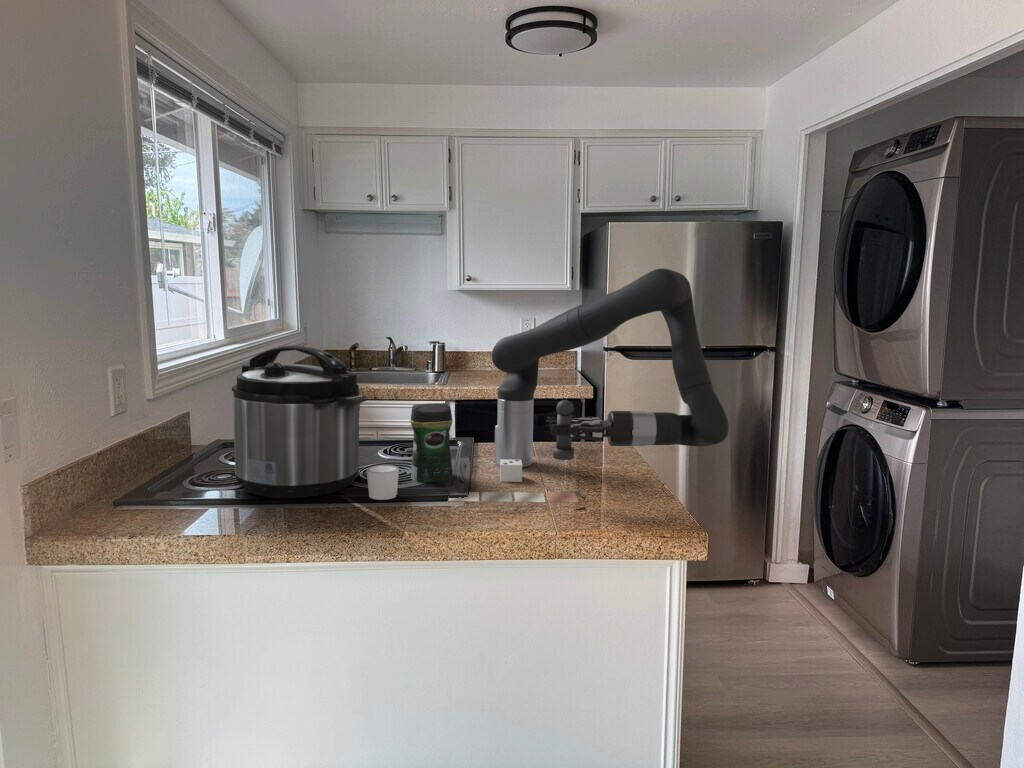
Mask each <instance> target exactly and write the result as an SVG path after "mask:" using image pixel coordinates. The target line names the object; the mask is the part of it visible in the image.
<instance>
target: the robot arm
mask: <svg viewBox="0 0 1024 768" xmlns="http://www.w3.org/2000/svg"><path fill="white" fill-rule="evenodd" d="M694 309H695V308H694V302H693V295H692V288H691V284H690V281H689V280H688V278H687V277H686V276H685V275H684V274H682V273H681V272H679V271H675V270H672V269H669V268H656V269H654V270H651V271H649V272H647V273H645V274H644V275H642V276H640V277H638V278H637V279H635V280H633V281H632V282H630V283H628V284H626V285H625V286H623V287H621V288H618V290H615V291H612V292H611V293H607V294H604V295H601V296H598V297H596V298H594V299H591V300H589V301H587V302H585V303H582V304H579V305H577V306H575V307H573V308H570V309H568V310H566V311H565V312H562V313H560V314H558V315H556V316H554V317H553V318H550V319H548V320H547V321H545V322H542V323H541V324H539V325H536V326H535V327H533V328H530V329H529V330H525V331H522V332H519V333H517V334H516V333H515V334H512V335H509V336H508V335H507V336H504V337H503V338H502V337H501V338H500V339H499V340H498V341H497V342H496V343H495V345H494V346H493V348H492V352H491V361H492V363H493V365H494V367H495V368H497V369H498V371H501V372H503V373H506V375H505V379H504V381H503V382H502V383H501V384H500V385H499V387H498V390H497V420H496V421H497V422H496V423H497V425H495V426H494V462H495V463H496V464H497V465H498V466H500V459H511V460H521V461H522V468H527V467H530V466H531V465H532V464H533V441H534V440H533V439H534V435H533V434H534V400H535V399H534V397H535V391H536V389H537V385H538V381H539V380H538V377H539V364H540V361H539V360H540V359H541V358H543V357H545V356H549V355H554V354H559V353H563V352H568V351H571V350H575V349H578V348H580V347H584V346H587V345H590V344H592V343H594V342H596V341H599V340H601V339H603V338H605V337H607V336H608V335H610V334H611V333H613V332H614V331H615V330H617V329H618V328H619V327H620V326H621V325H623V324H624V323H625V322H628V321H630V320H632V319H635V318H638V317H641V316H645V315H648V314H650V313H655V312H661V314H662V316H663V318H664V320H665V323H666V326H667V329H668V332H669V337H670V343H671V362H672V370H673V374H674V378H675V381H676V385H677V387H678V391H679V394H680V397H681V401H682V402H683V403H684V404H686V405H687V406H688V407H689V411H690V413H691V414H677V413H674V412H669V411H668V412H667V411H666V412H664V411H663V412H658V411H655V412H654V411H652V412H651V411H645V410H611V411H609V412H608V415H607V419H606V420H603V419H601V418H600V417H595V416H585V417H584V416H582V417H572V424H570V427H569V424H568V425H564V424H557V420H550V421H549V431H550V432H551V435H552V436H557V435H569V434H570V437H572V438H573V439H575V440H577V439H578V440H586V441H596V442H602V441H603V438H607V443H608V444H609V445H610V447H647V446H673V445H678V446H679V445H680V446H687V447H709V446H713V445H714V446H715V445H718V444H720V443H723V442H724V441H725V440H726V439H727V436H729V435H728V434H729V431H730V428H729V427H730V424H729V420H728V417H727V414H726V412H725V410H724V407H723V406H722V403H721V402H720V400H719V398H718V396H717V394H716V392H715V390H714V386H713V382H712V379H711V376H710V373H709V369H708V366H707V363H706V360H705V357H704V353H703V349H702V346H701V342H700V337H699V333H698V329H697V322H696V317H695V310H694Z"/></svg>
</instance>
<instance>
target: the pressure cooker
mask: <svg viewBox="0 0 1024 768" xmlns="http://www.w3.org/2000/svg"><path fill="white" fill-rule="evenodd" d="M287 351H297V352H300V353H303V354H307V355H309V356H312V357H315V358H316V360H317V361H318V363H319V365H320V366H319V365H318V366H317V365H311V364H310V365H309V364H302V363H301V364H299V363H298V364H297V363H282V364H281V363H280V362H275V361H276V360H277V358H278V356H279V354H280V353H281V352H287ZM347 367H348V366H347V364H346V363H345V362H344V361H342V360H340V359H339V358H337V357H335V356H334V355H333V354H330V353H328V352H326V351H323V350H321V349H317V348H314V347H310V346H305V345H304V346H303V345H296V344H295V345H282V346H276V347H273V348H270V349H266V350H265V351H262V352H260V353H258V354H257V355H254V356H253V357H252V358H250V359H249V364H246V365H242V367H241V372H240V373H238V374H237V375H236V384H234V386H231V392H232V393H233V394H232V395H233V398H232V399H233V437H234V438H233V443H234V444H233V445H234V473H235V477H236V480H237V482H238V483H239V484H240V485H242V487H243V489H244V491H246V492H248V493H250V494H252V495H255V496H260V497H267V498H275V499H276V498H280V499H281V498H282V499H284V498H285V499H288V498H290V499H295V498H311V497H310V496H313V497H319V496H318V495H320V496H324V495H323V494H325V495H327V494H331V493H332V494H333V493H336V492H338V491H339V490H343V489H346V488H348V487H349V486H350V485H352V483H353V482H354V481H355V480H356V478H357V475H358V471H359V468H360V411H361V409H360V408H361V406H360V405H361V403H363V402H367V395H363V394H360V386H359V384H358V381H357V380H358V379H357V378H358V377H357V373H356V372H353V371H349V370H347V369H348V368H347Z"/></svg>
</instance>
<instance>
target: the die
mask: <svg viewBox="0 0 1024 768" xmlns="http://www.w3.org/2000/svg"><path fill="white" fill-rule="evenodd" d="M499 481H500V483H501V482H505V483H506V482H507V483H509V482H510V483H511V482H513V483H515V482H516V483H517V482H518V483H520V482H521V483H522V481H523V467H522V461H521V460H511V459H500V465H499Z"/></svg>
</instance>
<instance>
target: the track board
mask: <svg viewBox="0 0 1024 768" xmlns="http://www.w3.org/2000/svg"><path fill="white" fill-rule="evenodd" d="M468 492H469V495H468V497H464V498H461V497H459V498H449V497H448V500H447V501H448V502H477V503H478V502H480V492H479V491H468ZM513 495H514V502H515V503H546V499H547V502H548V503H579V500H578V498H580V499H583V496H582V494H581V491H580V490H562V492H545V494H544V492H521V491H520V492H517V491H516V492H515V491H514V492H513ZM513 495H512V492H511V491H510V492H507V491H505V492H503V491H502V492H501V491H494V492H493V491H482V492H481V502H483V503H484V502H485V503H486V502H487V503H491V502H494V503H498V502H499V503H513V497H512V496H513ZM545 495H546V498H545ZM586 510H587V506H583V507H580V508H579V507H578V508H576V509H575V508H574V511H586Z"/></svg>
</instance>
